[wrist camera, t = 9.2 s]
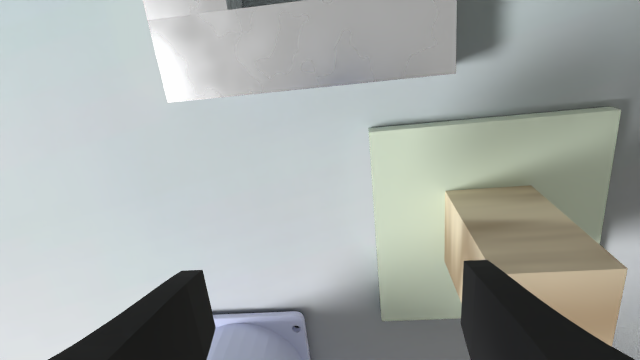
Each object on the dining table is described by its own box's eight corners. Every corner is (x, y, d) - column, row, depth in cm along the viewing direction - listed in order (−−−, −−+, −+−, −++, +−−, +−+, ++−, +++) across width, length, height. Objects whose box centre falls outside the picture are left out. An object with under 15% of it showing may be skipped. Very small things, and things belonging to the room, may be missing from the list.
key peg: (524, 257, 20) (607, 366, 14) (444, 261, 21) (488, 369, 14) (531, 185, 19) (627, 268, 12) (445, 190, 19) (494, 274, 13)
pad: (580, 303, 22) (588, 313, 21) (380, 312, 23) (381, 321, 22) (610, 106, 18) (621, 109, 17) (368, 128, 19) (369, 132, 18)
